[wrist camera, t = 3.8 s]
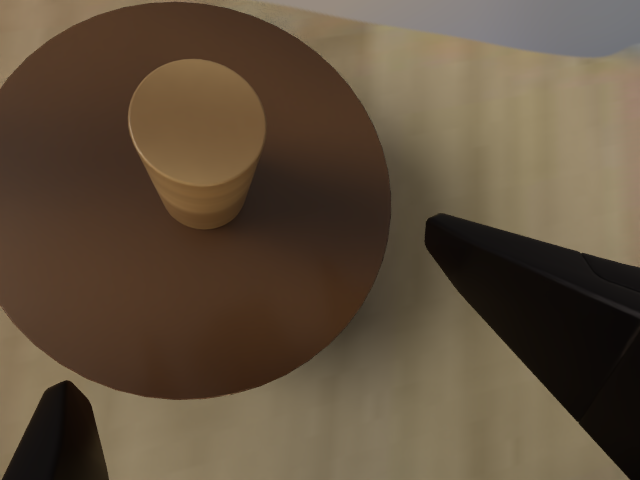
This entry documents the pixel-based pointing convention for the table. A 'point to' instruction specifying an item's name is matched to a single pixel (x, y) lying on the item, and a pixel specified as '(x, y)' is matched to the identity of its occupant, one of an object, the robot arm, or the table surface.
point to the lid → (185, 201)
